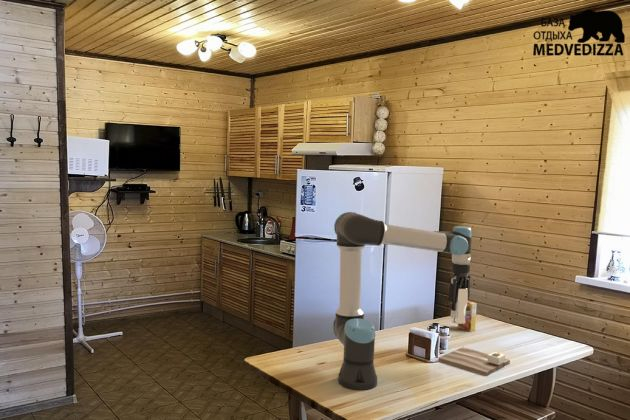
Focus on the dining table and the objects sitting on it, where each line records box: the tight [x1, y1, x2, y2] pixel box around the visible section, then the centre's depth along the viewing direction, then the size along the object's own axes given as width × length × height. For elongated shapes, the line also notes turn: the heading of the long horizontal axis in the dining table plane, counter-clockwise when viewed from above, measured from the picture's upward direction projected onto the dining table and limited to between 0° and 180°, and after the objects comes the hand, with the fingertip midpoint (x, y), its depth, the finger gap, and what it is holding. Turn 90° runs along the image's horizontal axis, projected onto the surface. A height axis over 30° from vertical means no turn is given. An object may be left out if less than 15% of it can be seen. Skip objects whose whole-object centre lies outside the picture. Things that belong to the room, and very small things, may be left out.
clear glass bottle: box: [450, 287, 469, 325], centre depth 226 cm, size 7×7×15 cm
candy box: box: [457, 300, 478, 333], centre depth 282 cm, size 9×4×15 cm, turn 36°
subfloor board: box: [437, 346, 511, 377], centre depth 232 cm, size 22×22×2 cm
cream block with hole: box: [487, 351, 506, 365], centre depth 228 cm, size 6×5×3 cm
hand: (458, 316), depth 226 cm, fingers closed on clear glass bottle, 6 cm apart
